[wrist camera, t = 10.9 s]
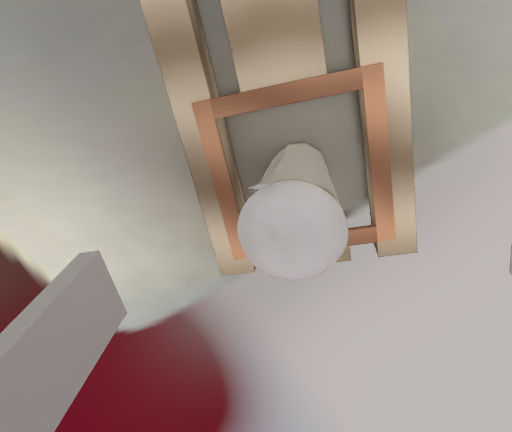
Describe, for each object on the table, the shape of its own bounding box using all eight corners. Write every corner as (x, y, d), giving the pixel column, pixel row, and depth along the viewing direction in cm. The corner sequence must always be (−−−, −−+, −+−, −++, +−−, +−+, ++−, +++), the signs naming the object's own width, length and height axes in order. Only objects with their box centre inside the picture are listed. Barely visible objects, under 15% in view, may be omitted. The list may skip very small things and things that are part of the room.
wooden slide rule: (56, -341, 15) (16, -401, 13) (368, -493, 13) (381, -594, 11) (227, 259, 26) (220, 278, 24) (408, 236, 24) (418, 255, 22)
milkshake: (317, 104, 21) (317, 161, 12) (348, 188, 23) (368, 290, 14) (243, 135, 22) (196, 207, 13) (279, 212, 24) (257, 319, 15)
